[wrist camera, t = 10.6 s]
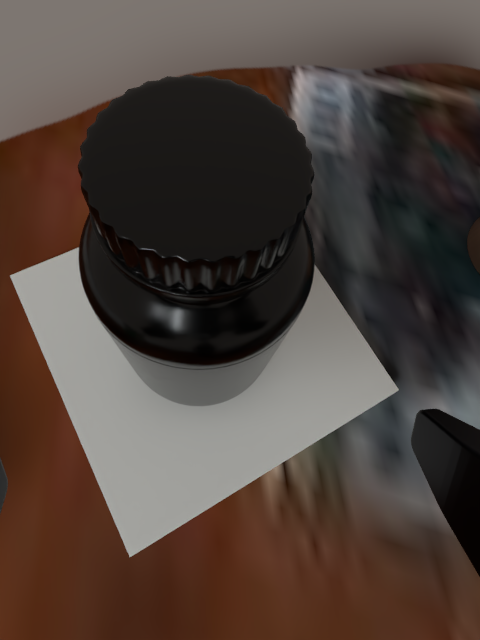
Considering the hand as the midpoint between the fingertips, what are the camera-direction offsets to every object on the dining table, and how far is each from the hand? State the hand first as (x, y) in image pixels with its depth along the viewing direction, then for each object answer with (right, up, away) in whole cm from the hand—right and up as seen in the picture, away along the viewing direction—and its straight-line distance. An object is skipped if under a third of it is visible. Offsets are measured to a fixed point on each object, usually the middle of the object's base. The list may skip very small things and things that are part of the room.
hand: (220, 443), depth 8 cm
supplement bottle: (-1, +2, +11) cm, 11 cm away
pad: (-1, +2, +12) cm, 12 cm away
